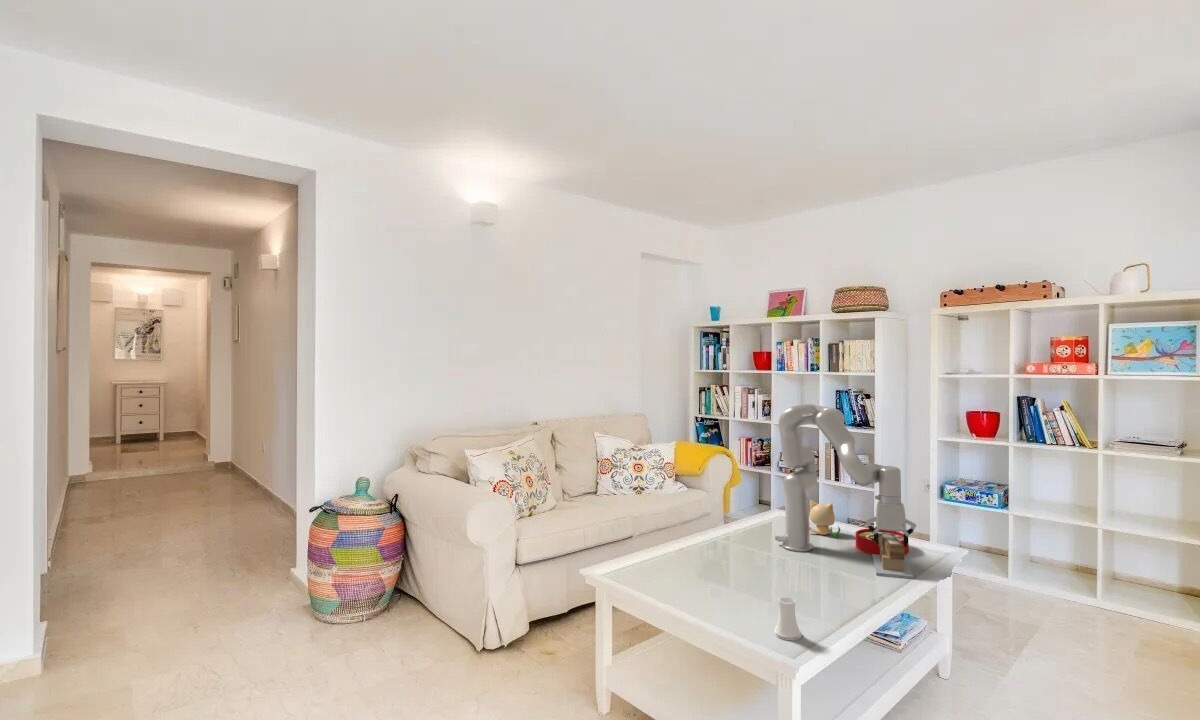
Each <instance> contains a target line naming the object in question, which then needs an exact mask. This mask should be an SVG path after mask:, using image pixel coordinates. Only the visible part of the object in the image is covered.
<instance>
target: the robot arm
mask: <svg viewBox="0 0 1200 720" xmlns="http://www.w3.org/2000/svg"><path fill="white" fill-rule="evenodd" d="M845 420H846V419H845V415H844V413H843V412H842V411H841V410H840V409H838V408H834V407H829V406H822V405H817V404H813V403H812V404H811V403H806V404H797V405H793V406H790V407H787V408H786V409H785V410H784V411H783V412H782V413H781V414H780V416H779V418H778V431H779V437H780V446H781V453H782V462H783V465H784V466H785V467H786V468H787V469H790V470H794V471H793V472H790V473H788V474H787V475H786V476H785V477H784V479H783V482H782V491H783V495H784V506H785V507H784V509H785V511H784V512H785V534H784V535H775V536H774V540H775V541H777V542H782V544H781V546H782V548H784V549H786V550H788V551H792V552H803V553H804V552H810V551H813V550H814V544H813V543H811V541H810V540H811V539H810V536H811V535H810V530H809V527H810V502H809V500H808V496H807V493H810V492H811V491H813V490H814V489H815V488H816V487H817V484H818V473H817V464H816V457H815V454H814V451H813V450H812V448H811V447H810V446H809V445H807V444H803V441H802V439H803V438H802V433H801V432H800V429H799V427H801V426H805V425H815V426H817V428H818V429H819V430H820V432H821V433H822V434H823V435H824V436H825V438H826V439H827V441H828V442H829V443H830V444H831V446H832V447H833V448H834V450H836V454H837V457H838V459H839V461H840V464H841V466H842V468H843V469H844V471H845V473H847V474H848V476H849V477H850V478H851V479H852V481H853V482H854V483H856V484H857V485H859V486H862V487H868V486H870V485H872V484H873V485H874V484H877V483H878V494H877V495H874V499H875V500H877V502H876V509H875V516H873V517H871V518H868V519H866V520H865V524H866V525H867V527H868V529H870V530H871V531H872V532H873V533H874V541H875V542H876V544H878V533H877V532H878V531H879V530H887V531H897V532H901V533H903V534H904V535H903V543H904V546H905V547H907V544H908V545H909V537H910V535H911V534H913V532H914V531H915V529H916V527H917V524H916V523H915V522H913V521H911V520H909V519H907V518H906V510H905V504H904V503H903V502H902V476H901V475H902V473H901V469H900V468H899V467H897V466H891V465H881V464H877V463H873V462H872V463H871V462H868V463H865V464H864V463H863V461H862V460H861V459H860V457H859V455H858V454H857V452H856V448H855V443H856V440H855V436H854V435H853V434H852V433H851V432H850V431H849V430H848V429H847V427H846V426H845ZM871 523H875V526H873V525H872V524H871ZM907 525H909V526H910V527H909V529H907Z"/></svg>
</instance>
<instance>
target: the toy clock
mask: <svg viewBox="0 0 1200 720" xmlns="http://www.w3.org/2000/svg"><path fill="white" fill-rule="evenodd" d="M854 533H855V548H856V549H857V550H858V551H860V552H862V553H865V554H869V555H872V554H876V555H880V548H879V547H878V544H876V542H875V541H874V533H873V532H872V531H871V530H870V529H869V528H861V529H859V530H856V531H855V532H854ZM877 533H886V534H892V535H893V536H894V537H895V538H896V539H897V540H899V541H900V542H901V543H902V544H903V545H904V543H903V535H904V533H903V532H901V531H887V530H879V531H878V532H877ZM904 551H905V555H908V554H909V552H910V549H909V543H908V544H907V547H905V546H904Z"/></svg>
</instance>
